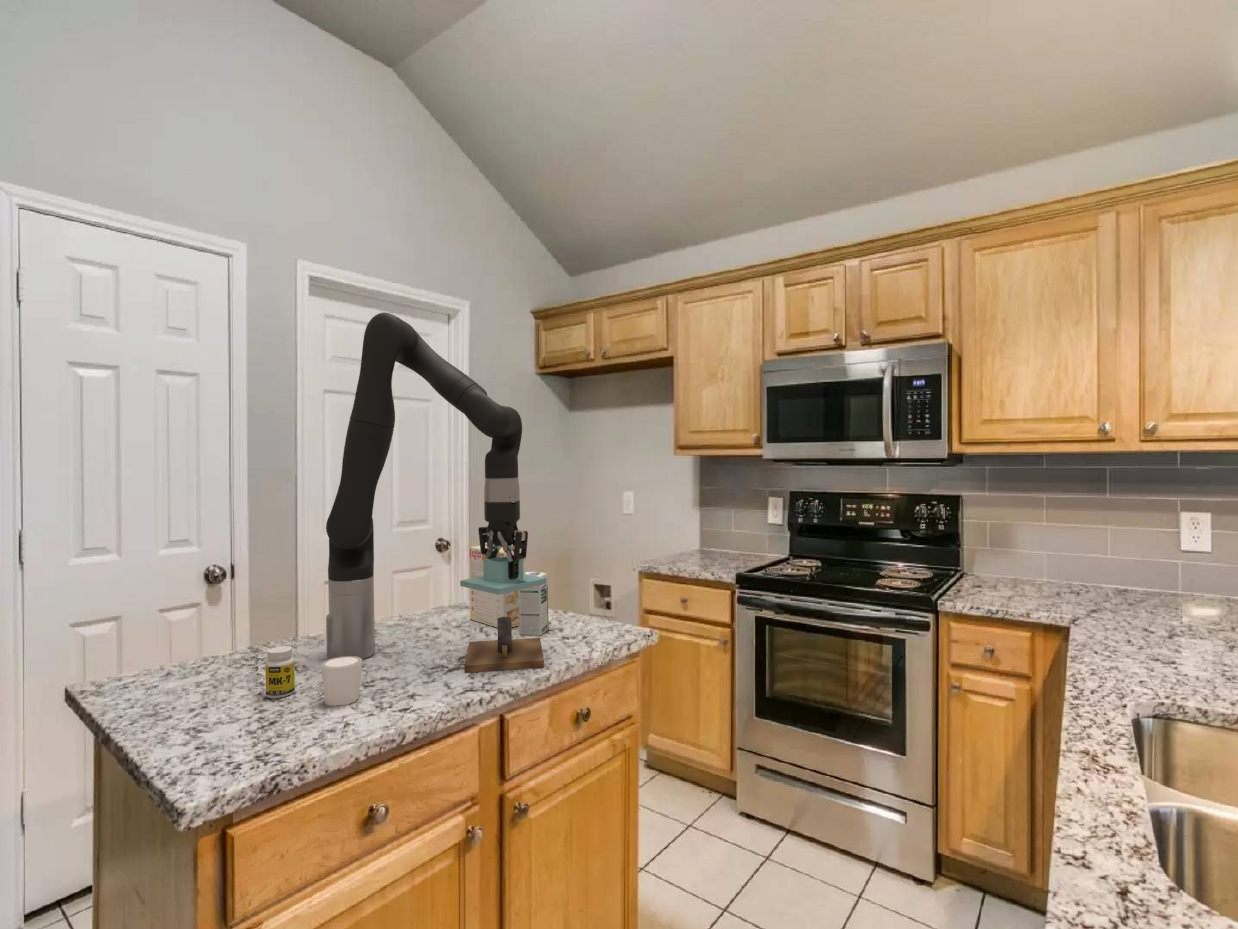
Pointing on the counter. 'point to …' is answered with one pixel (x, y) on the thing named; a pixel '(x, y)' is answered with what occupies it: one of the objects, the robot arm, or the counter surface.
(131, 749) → the counter surface
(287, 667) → the supplement bottle
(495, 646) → the post block
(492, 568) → the flange plate
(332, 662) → the white short cylinder
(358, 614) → the robot arm
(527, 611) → the syrup box
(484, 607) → the coffeecake box
